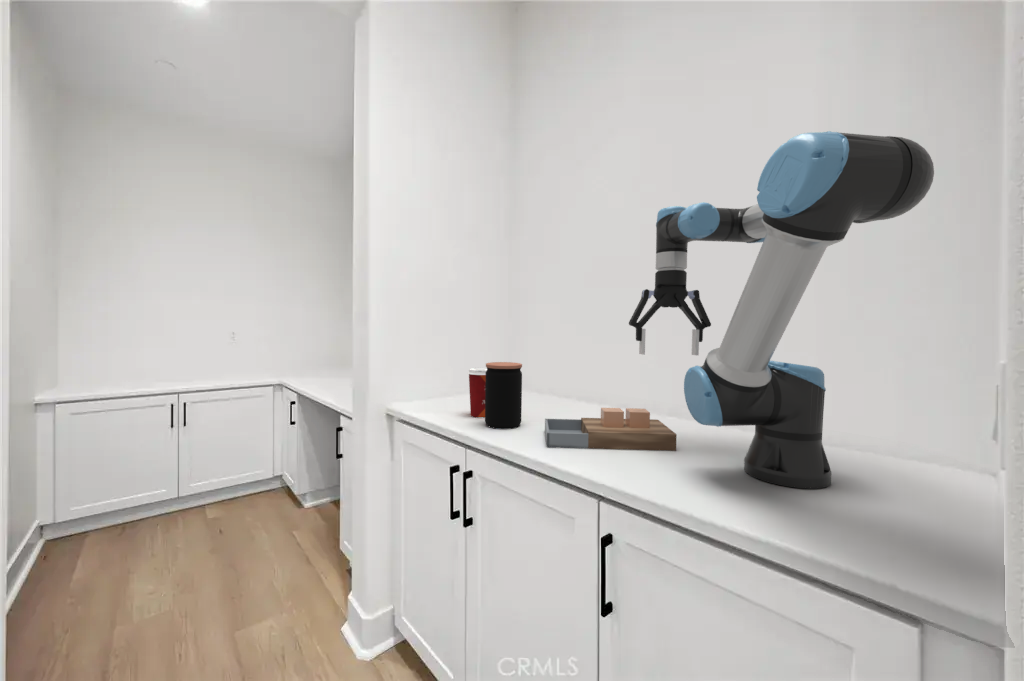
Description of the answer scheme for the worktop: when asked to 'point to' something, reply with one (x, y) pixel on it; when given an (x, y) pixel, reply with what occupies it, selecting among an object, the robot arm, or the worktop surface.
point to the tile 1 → (612, 417)
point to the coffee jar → (503, 394)
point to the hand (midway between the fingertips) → (668, 354)
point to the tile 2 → (637, 418)
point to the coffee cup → (477, 391)
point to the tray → (565, 433)
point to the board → (628, 436)
